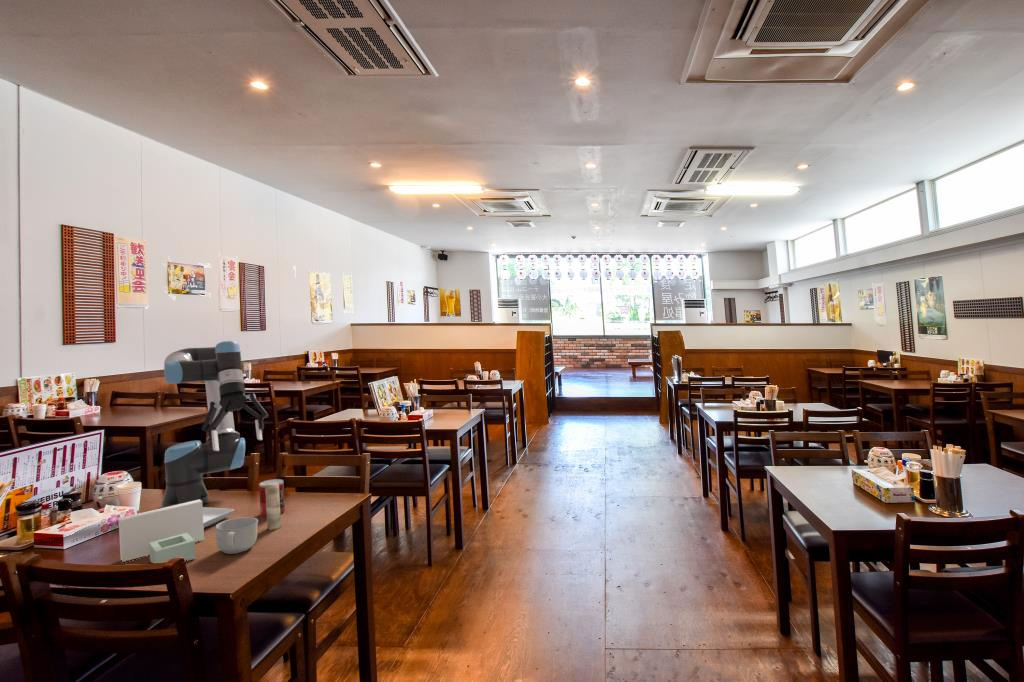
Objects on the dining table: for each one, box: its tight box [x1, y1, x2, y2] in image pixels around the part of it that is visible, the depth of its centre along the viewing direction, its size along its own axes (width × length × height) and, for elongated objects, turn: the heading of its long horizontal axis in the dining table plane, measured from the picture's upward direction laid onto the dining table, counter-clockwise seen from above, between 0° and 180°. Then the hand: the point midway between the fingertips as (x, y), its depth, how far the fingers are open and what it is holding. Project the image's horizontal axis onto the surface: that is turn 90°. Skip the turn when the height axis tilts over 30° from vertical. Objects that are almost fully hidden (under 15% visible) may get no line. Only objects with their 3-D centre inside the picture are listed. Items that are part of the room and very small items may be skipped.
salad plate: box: [203, 506, 235, 529], centre depth 164 cm, size 21×21×3 cm
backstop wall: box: [118, 499, 205, 563], centre depth 146 cm, size 3×20×12 cm, turn 136°
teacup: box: [215, 516, 259, 555], centre depth 142 cm, size 14×11×8 cm
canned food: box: [258, 478, 286, 517], centre depth 174 cm, size 8×8×11 cm
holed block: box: [149, 533, 197, 564], centre depth 138 cm, size 9×9×5 cm
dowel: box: [265, 483, 282, 531], centre depth 160 cm, size 4×4×14 cm
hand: (238, 445), depth 163 cm, fingers open, 13 cm apart
